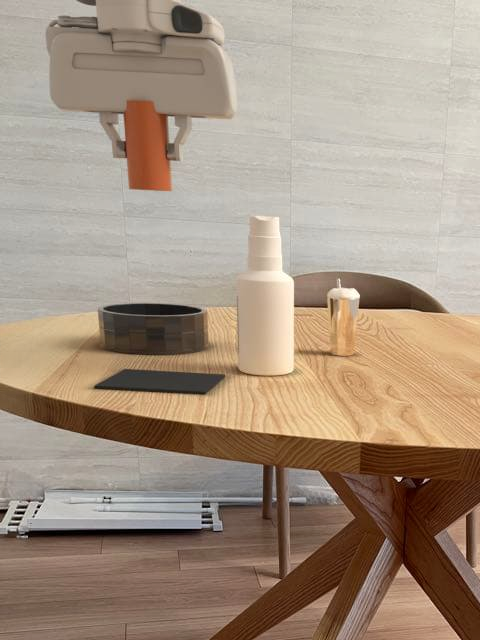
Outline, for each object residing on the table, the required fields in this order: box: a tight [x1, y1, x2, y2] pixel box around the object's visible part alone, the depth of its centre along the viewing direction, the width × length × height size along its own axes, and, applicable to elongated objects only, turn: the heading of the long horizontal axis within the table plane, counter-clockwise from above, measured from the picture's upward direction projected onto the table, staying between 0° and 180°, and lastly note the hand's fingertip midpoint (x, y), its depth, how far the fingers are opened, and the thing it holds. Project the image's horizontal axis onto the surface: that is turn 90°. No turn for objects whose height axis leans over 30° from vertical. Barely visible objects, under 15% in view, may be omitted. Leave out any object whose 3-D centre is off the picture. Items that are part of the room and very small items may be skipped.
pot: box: [97, 302, 209, 356], centre depth 115 cm, size 14×14×5 cm
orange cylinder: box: [122, 100, 173, 192], centre depth 94 cm, size 5×5×9 cm
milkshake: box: [326, 278, 361, 357], centre depth 116 cm, size 4×5×10 cm
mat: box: [94, 368, 226, 395], centre depth 94 cm, size 12×10×1 cm
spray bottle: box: [235, 215, 295, 377], centre depth 100 cm, size 7×7×18 cm
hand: (149, 159), depth 94 cm, fingers closed on orange cylinder, 5 cm apart
